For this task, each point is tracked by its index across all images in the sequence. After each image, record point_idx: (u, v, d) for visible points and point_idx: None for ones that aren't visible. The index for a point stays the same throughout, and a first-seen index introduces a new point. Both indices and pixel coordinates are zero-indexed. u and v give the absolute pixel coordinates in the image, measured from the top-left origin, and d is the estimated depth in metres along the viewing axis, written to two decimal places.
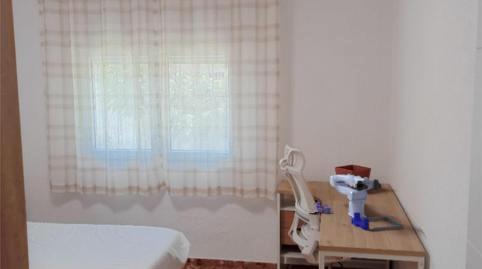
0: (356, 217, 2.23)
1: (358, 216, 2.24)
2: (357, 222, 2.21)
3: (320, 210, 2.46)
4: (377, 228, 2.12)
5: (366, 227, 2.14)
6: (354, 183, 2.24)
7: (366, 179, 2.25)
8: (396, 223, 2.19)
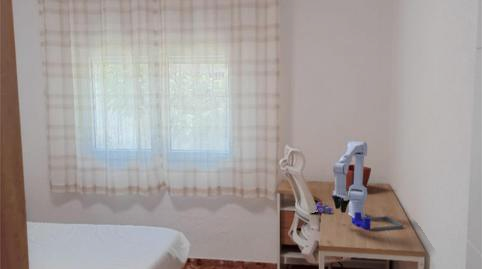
0: (357, 217, 2.23)
1: (359, 216, 2.24)
2: (358, 222, 2.21)
3: (321, 210, 2.45)
4: (377, 228, 2.12)
5: (367, 227, 2.14)
6: (333, 191, 2.23)
7: None
8: (396, 223, 2.19)
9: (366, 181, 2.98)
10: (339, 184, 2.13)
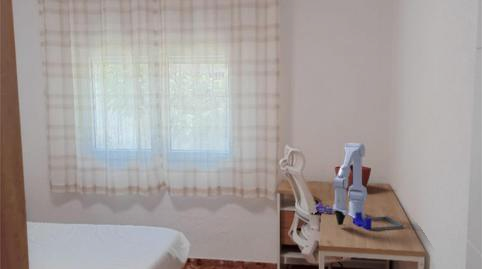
0: (358, 217, 2.23)
1: (360, 216, 2.24)
2: (359, 222, 2.21)
3: (322, 210, 2.45)
4: (377, 228, 2.12)
5: (369, 227, 2.14)
6: (333, 205, 2.23)
7: None
8: (396, 223, 2.19)
9: (366, 181, 2.98)
10: (339, 198, 2.14)
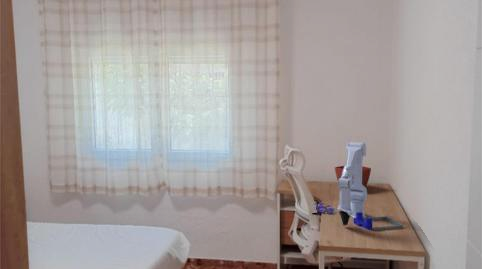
0: (358, 217, 2.23)
1: (360, 216, 2.24)
2: (360, 222, 2.21)
3: (323, 210, 2.45)
4: (377, 228, 2.12)
5: (370, 226, 2.14)
6: (338, 205, 2.24)
7: None
8: (396, 223, 2.19)
9: (366, 181, 2.98)
10: (344, 199, 2.14)
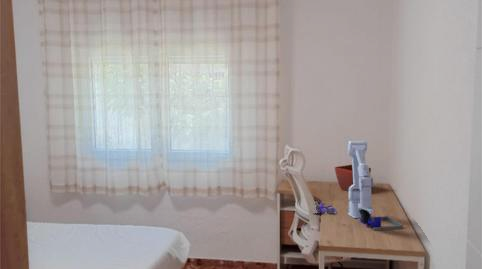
0: None
1: None
2: (368, 221, 2.22)
3: (324, 210, 2.44)
4: (377, 228, 2.12)
5: (378, 226, 2.15)
6: (358, 204, 2.26)
7: None
8: (396, 223, 2.19)
9: None
10: (368, 197, 2.16)
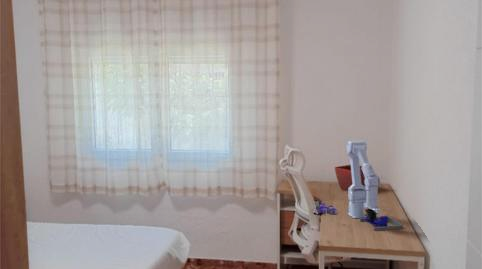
0: None
1: None
2: None
3: (325, 211, 2.44)
4: (377, 228, 2.12)
5: (385, 225, 2.16)
6: (364, 203, 2.26)
7: None
8: (396, 223, 2.19)
9: None
10: (375, 197, 2.17)
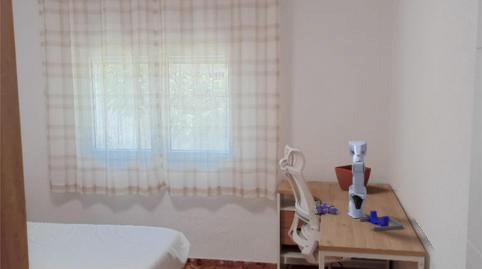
0: (373, 215, 2.26)
1: (375, 214, 2.26)
2: (375, 220, 2.23)
3: (326, 211, 2.44)
4: (377, 228, 2.12)
5: (386, 225, 2.17)
6: (350, 190, 2.25)
7: None
8: (396, 223, 2.19)
9: (366, 181, 2.98)
10: (359, 183, 2.15)
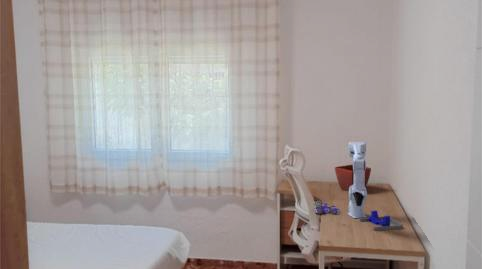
0: (374, 215, 2.26)
1: (376, 214, 2.26)
2: (376, 220, 2.23)
3: (327, 210, 2.44)
4: (377, 228, 2.12)
5: (387, 224, 2.17)
6: (351, 187, 2.27)
7: (354, 190, 2.20)
8: (396, 223, 2.19)
9: (366, 181, 2.98)
10: (360, 180, 2.17)
